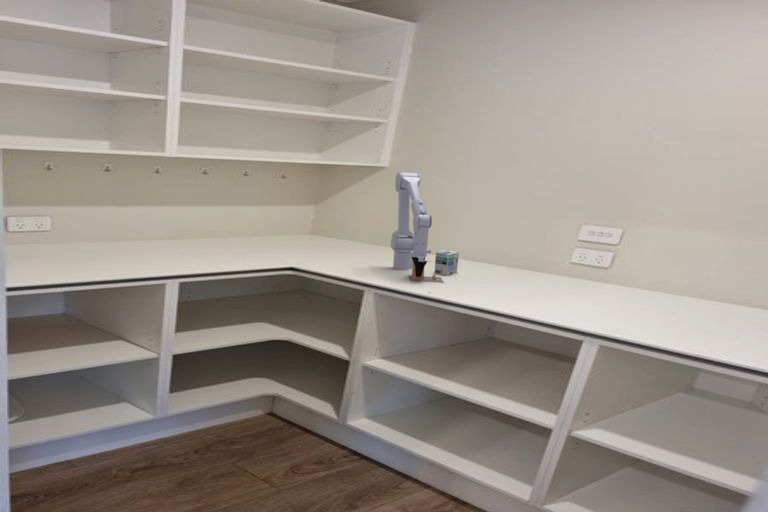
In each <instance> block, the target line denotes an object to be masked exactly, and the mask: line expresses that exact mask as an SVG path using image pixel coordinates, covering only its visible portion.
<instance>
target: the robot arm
mask: <svg viewBox="0 0 768 512" xmlns="http://www.w3.org/2000/svg"><path fill="white" fill-rule="evenodd" d="M421 182H422V178H421V175H420V173H419V172H403V171H399V172H397V174H396V175H395V184H394V185H395V191H396V192H397V193H398V210H397V211H398V215H397V216H398V218H397V220H398V222H397V223H398V224H397V229H396V230H395V231H394V232H393V233H392V234H391V240H390V248H391V250H392V251H393V262H392V263H393V265H392V268H393V269H395V270H400V271H407V270H409V269H411V270H413V264H414V265H415V274H416V277H421V276H422V272H423V269H424V270H425V266H426V265H427V263H428V261H427V260H426V257H428V253H427V250H428V241H429V230H430V229H431V227H432V222H433V218H432V215H431V213H429V212H428V211H427V207H426V203H425V201H424V200H423V199H421V194H420V188H419V187H420V185H421ZM410 199H411V204H410ZM410 208H411V211H412V215H413V219H412V225H413V226H412V227H413V232H414V233H413V232H412V231H411V230H410ZM412 250H413V251H412Z"/></svg>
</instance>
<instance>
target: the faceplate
mask: <svg viewBox="0 0 768 512" xmlns="http://www.w3.org/2000/svg"><path fill="white" fill-rule="evenodd" d="M408 278H409V281H410V282H422V283H436V284H437V283H439V284H445V281H444V280H443V278H442V277H439V276H437V274H435V273H433V274H432V276H426V275H424V279H423V280H415V279H412V274H410V275H408Z"/></svg>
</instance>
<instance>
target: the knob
mask: <svg viewBox="0 0 768 512" xmlns="http://www.w3.org/2000/svg"><path fill="white" fill-rule="evenodd" d="M411 276H412V279H415V280H423V279H424V276H425V268H424V269H423V272H422V276H421V277H416V274H415V265H414V263H413V269H411Z"/></svg>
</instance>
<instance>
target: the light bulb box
mask: <svg viewBox="0 0 768 512" xmlns="http://www.w3.org/2000/svg"><path fill="white" fill-rule="evenodd" d="M459 256H460V252H459V251H454V250H451V249H450V250H449V249H443V250H440V251H436V252H435V260H434V261H435V262H434V273H433V274H436V275H441V276H444V277H445V276H446V277H448V276H451V275H455V274H456V273H458V266H459Z"/></svg>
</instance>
